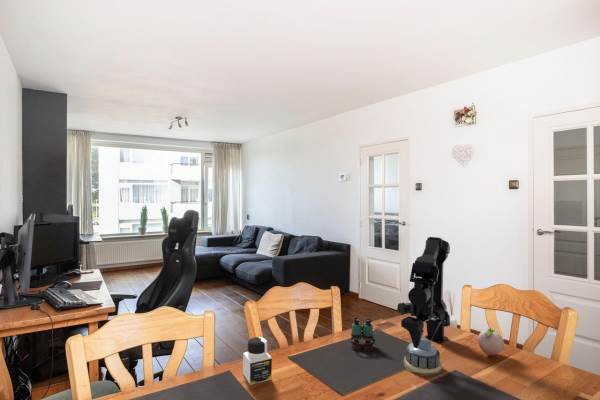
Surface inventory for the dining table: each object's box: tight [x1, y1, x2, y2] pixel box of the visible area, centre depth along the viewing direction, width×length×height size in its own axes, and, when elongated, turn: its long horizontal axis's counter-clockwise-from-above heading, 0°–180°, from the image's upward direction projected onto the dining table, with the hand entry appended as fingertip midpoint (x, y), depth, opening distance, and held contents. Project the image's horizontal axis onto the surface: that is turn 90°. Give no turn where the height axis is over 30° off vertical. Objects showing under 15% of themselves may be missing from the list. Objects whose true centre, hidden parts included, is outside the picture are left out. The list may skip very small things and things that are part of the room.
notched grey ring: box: [403, 345, 442, 377], centre depth 118 cm, size 12×12×6 cm
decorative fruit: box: [477, 327, 505, 356], centre depth 128 cm, size 9×8×10 cm
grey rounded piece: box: [408, 337, 438, 357], centre depth 119 cm, size 9×9×7 cm
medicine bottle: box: [242, 336, 273, 386], centre depth 111 cm, size 7×7×12 cm
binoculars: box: [350, 317, 376, 352], centre depth 132 cm, size 9×11×10 cm
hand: (422, 343), depth 118 cm, fingers open, 9 cm apart
